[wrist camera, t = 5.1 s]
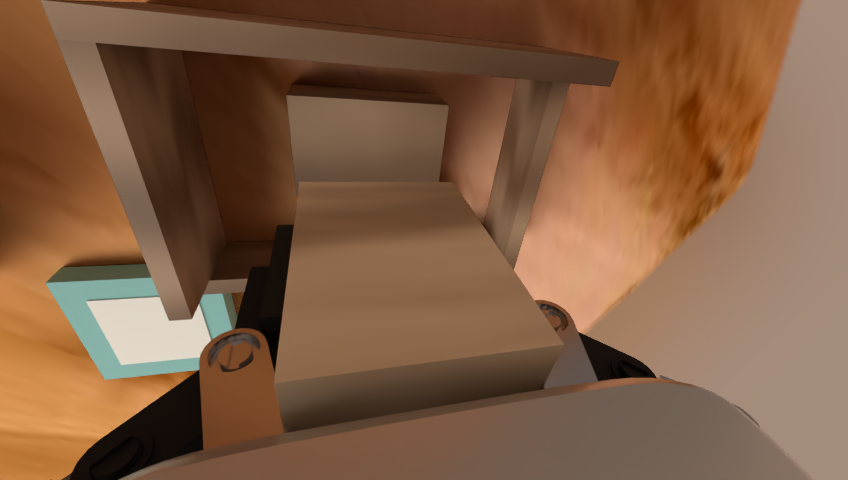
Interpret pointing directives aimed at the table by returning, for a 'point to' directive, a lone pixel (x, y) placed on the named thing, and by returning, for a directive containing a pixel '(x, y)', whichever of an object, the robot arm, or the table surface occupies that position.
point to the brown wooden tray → (308, 119)
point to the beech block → (400, 307)
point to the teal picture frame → (135, 320)
